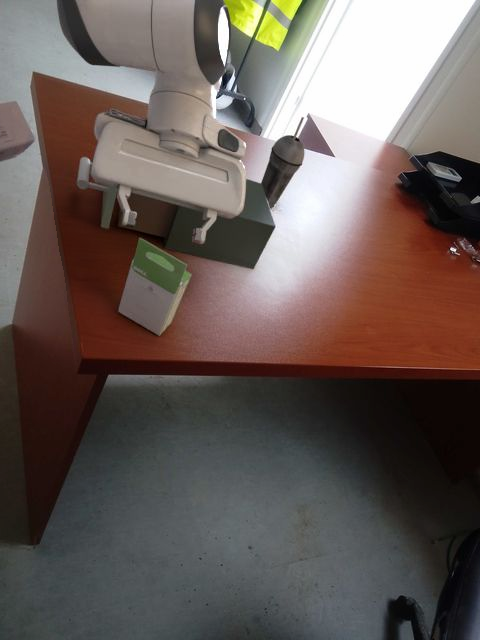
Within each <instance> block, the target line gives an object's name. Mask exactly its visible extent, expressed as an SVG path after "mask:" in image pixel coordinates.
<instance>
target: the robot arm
mask: <svg viewBox="0 0 480 640" xmlns="http://www.w3.org/2000/svg"><path fill="white" fill-rule="evenodd" d="M56 7H57V15H58V20H59V25H60V28H61V31H62V34H63V36H64V38H65V39H66V41H67V42H68V44H69V45H70V46H71V48H72V49H73V50H74V51H75V52H76V53H77V54H78V55H79V57H80V58H81V59H83V60H84V62H86V63H87V64H89V65H91V66H100V67H114V68H115V67H116V68H120V67H123V68H124V67H125V68H130V69H137V70H143V71H149V72H153V73H154V76H155V77H154V78H155V80H154V86H153V88H152V90H151V92H150V95H149V99H148V105H147V106H148V107H147V112H146V118H142V117H139V116H136V115H132V114H128V113H125V112H122V111H121V110H119V109H115V108H110V109H109V110H103V111H100V112H99V113H97V115H96V117H95V120H94V128H93V133H94V137H95V139H96V141H97V144H96V147H95V151H94V155H93V157H92V158H93V159H92V162H91V163H92V168H91V167H90V176H91V178H92V179H93V181H94V183H95V184H98V185H102V186H104V185H105V186H109V187H113V188H116V189H117V193H116V199H117V201H118V205H119V204H120V207H121V209H122V212H123V219H122V225H123V226H127V227H132V228H133V227H134V226H135V222H136V221H135V218H136V215H137V213H136V212H132V211H131V210H130V208H129V205H128V202H127V199H128V198H129V196H130V192H131V193H135V194H139V195H142V196H146V197H150V198H153V199H157V200H161V201H164V202H168V203H172V204H176V205H179V206H183V207H187V208H190V209H194V210H198V211H201V212H203V218H202V219H203V220H206V222H205V223H204V224H203V225H202V227H201V228H200V229H199V228H195V229H193V232H192V235H193V237H192V238H191V241H192V242H195V243H198V244H203V243H204V241H205V236H206V231H207V230H208V229H209V228H210V226H211V225H212V224H213V223H214V222H215V220H216V217H217V216H220V217H224V218H227V219H231V218H234V217H236V216H237V215H239V214H240V213H241V212H242V210H243V207H244V201H245V192H246V179H247V171H246V168H245V164H244V163H243V161H241V160H242V158H243V157H244V156H245V154H246V150H247V145H246V143H245V141H244V140H242V139H241V137H238V136H237V135H236V134H235V133H234V132H232V131H231V130H229V129H228V128H227V127H225V126H224V125H223V124H222V123H221V122H220V121H218V120H217V108H216V107H217V106H216V99H217V95H218V93H219V91H220V88H221V85H222V78H223V76H224V74H225V73H226V71H227V66H228V59H229V53H230V47H231V36H232V26H231V25H232V23H231V16H230V15H231V14H230V11H229V8H228V6H227V5H226V3H225V0H56Z"/></svg>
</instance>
